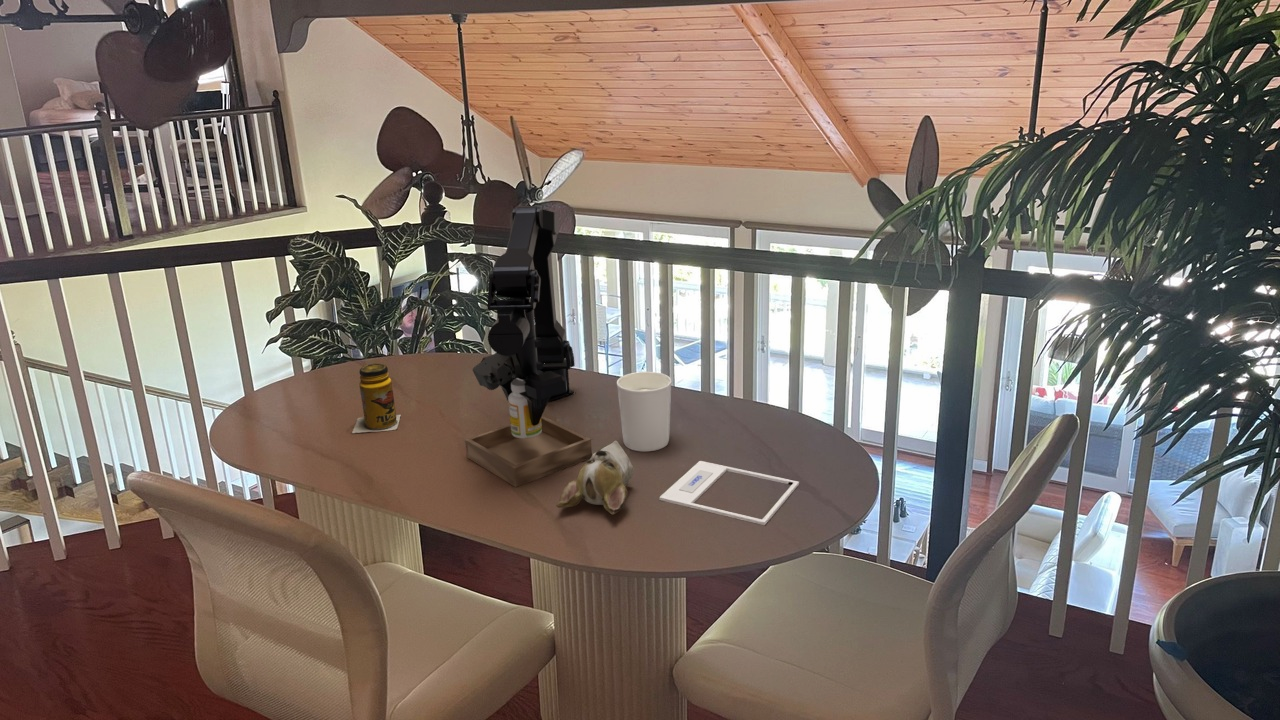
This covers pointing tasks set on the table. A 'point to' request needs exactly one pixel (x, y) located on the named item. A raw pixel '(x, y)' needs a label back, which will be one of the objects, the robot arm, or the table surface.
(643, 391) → the candle holder
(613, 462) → the ceramic sculpture
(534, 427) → the supplement bottle
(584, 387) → the table surface
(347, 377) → the table surface
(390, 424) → the condiment
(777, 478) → the photo frame
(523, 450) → the box
